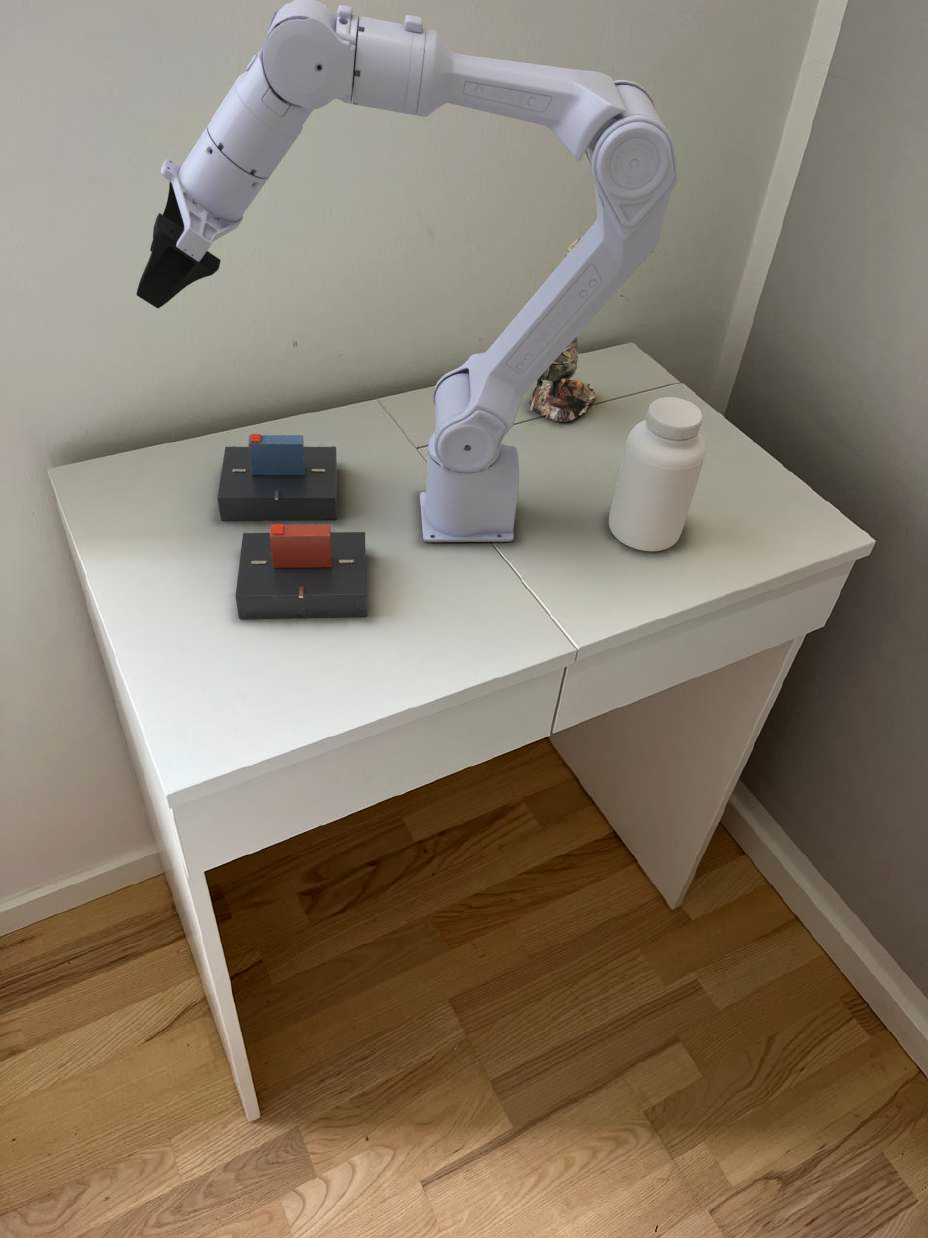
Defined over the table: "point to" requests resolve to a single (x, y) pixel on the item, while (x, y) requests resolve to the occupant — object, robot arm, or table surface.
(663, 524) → the pill bottle
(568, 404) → the plant with pod
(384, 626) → the table surface
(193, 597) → the table surface
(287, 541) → the block
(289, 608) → the hot tap panel
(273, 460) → the cold tap
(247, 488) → the panel
